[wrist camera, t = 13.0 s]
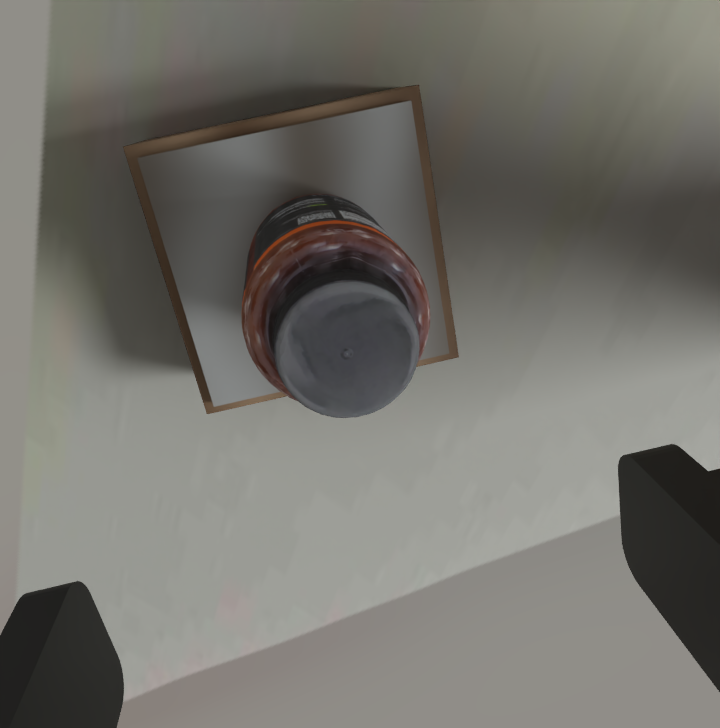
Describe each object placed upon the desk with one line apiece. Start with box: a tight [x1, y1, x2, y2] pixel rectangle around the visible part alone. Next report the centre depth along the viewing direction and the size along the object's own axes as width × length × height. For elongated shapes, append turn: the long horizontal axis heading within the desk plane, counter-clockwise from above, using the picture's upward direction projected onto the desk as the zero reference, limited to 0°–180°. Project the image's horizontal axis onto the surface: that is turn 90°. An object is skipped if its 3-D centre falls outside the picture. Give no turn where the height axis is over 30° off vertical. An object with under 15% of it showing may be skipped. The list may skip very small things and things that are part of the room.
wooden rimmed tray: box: [123, 85, 459, 414], centre depth 31 cm, size 12×12×6 cm
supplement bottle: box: [241, 194, 430, 418], centre depth 23 cm, size 6×6×11 cm
